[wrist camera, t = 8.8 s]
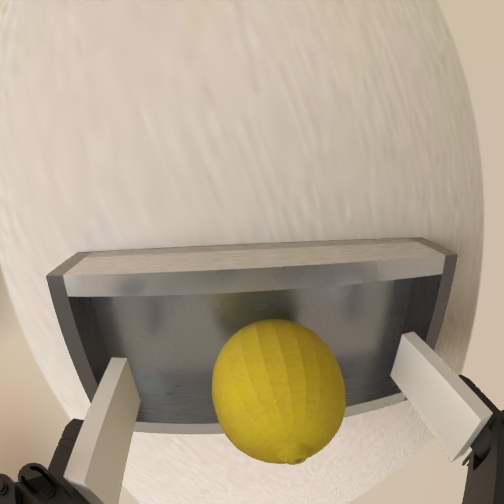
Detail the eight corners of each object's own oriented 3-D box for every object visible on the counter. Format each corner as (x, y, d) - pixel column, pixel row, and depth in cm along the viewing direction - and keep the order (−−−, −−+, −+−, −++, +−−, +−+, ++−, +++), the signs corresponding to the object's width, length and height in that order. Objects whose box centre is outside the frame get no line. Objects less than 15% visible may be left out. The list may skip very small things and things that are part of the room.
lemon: (252, 389, 16) (272, 503, 9) (191, 330, 15) (176, 458, 7) (330, 340, 16) (391, 446, 8) (278, 270, 14) (337, 379, 7)
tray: (77, 252, 14) (45, 275, 10) (421, 237, 16) (457, 254, 12) (115, 391, 17) (103, 427, 13) (393, 368, 19) (415, 396, 15)
